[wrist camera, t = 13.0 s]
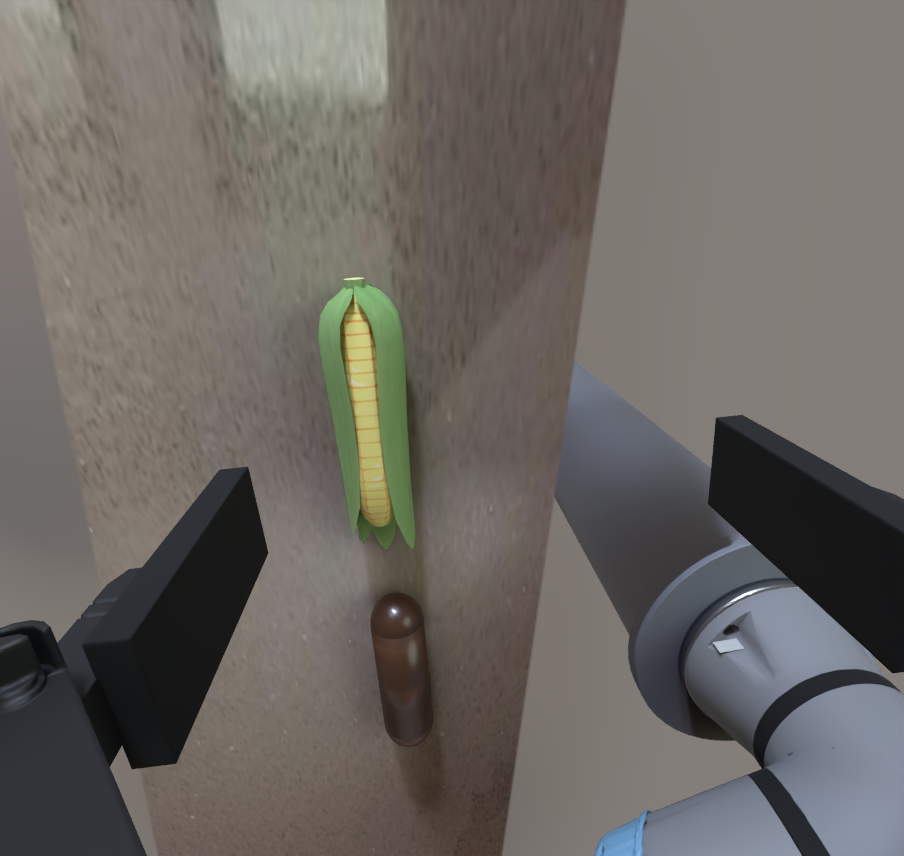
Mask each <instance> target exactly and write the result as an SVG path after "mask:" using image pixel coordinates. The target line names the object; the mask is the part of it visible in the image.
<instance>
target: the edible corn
mask: <svg viewBox="0 0 904 856" xmlns="http://www.w3.org/2000/svg"><path fill="white" fill-rule="evenodd" d="M343 282H344V287H343V289H342V290H341V291H340V293H338V294H337V295H336V296H335V297H333V298H332V299H331V300H330V301H328V303H327V305H326V306H325V308H324V310H323V312H322V313H321V315H320V322H319V333H318V341H319V348H320V355H321V361H322V368H323V374H324V379H325V384H326V389H327V394H328V399H329V404H330V409H331V414H332V419H333V425H334V430H335V436H336V442H337V448H338V453H339V459H340V465H341V471H342V477H343V483H344V489H345V496H346V502H347V508H348V514H349V521H350V527H351V533H352V536H353V534H354V532H355V530H356V525H358V531H359V537H360V540H361V541H362V542H363V543H365V542H366V540H367V539H368V537H369V536H370V534H371V533H372V530H373V532H374V535H375V537H376V539H377V542H378V543H379V544H380V545H381V546H382V547H383V548H384V549H385V550H386V551H387V550H388V548H389V547H390V545H391V543H392V542H393V540H394V535H395V529H396V522H397V524H398V526H399V528H400V530H401V532H402V535H403V537H404V539H405V541H406V543H407V545H408V546H409V547H410V548H411V549H412V550H413V549H414V542H415V524H414V511H413V499H412V487H411V474H410V458H409V441H408V424H407V398H406V365H405V347H404V333H403V329H402V325H401V321H400V317H399V313H398V311H397V309H396V308H395V306H394V305H393V303H392V302H391V300H390V299H389V298H388V297H387V296H386V295H385V294H383V293H382V292H381V291H380V290H379V289H377V288H374V287H373V286H372V285H369V284H366V283H365V278H348V279H343Z"/></svg>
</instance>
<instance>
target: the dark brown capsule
mask: <svg viewBox="0 0 904 856" xmlns="http://www.w3.org/2000/svg"><path fill="white" fill-rule="evenodd" d="M370 621H371V632H372V639H373V646H374V653H375V660H376V667H377V674H378V681H379V688H380V695H381V702H382V708H383V715H384V722H385V727H386V731H387V733H388V735H389V736H390V738H391V739H392V740H393V741H394V742H395V743H397V744H398V745H401V746H405V747H411V746H415V745H418V744H420V743H421V742H422V741H424V740H425V739H426V737H427V736H428V735H429V733H430V731H431V728H432V725H433V710H432V700H431V690H430V680H429V670H428V660H427V650H426V640H425V631H424V621H423V614H422V610H421V608H420V606H419V604H418V603H417V602H416V601H415V600H414V599H413V598H412V597H410V596H409V595H406V594H403V593H393V594H389V595H387V596H385V597H383V598H382V599H381V600H379V602H378V603H377V604H376V605H375V607H374V609H373V611H372V614H371V619H370Z"/></svg>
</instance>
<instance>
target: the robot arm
mask: <svg viewBox="0 0 904 856" xmlns="http://www.w3.org/2000/svg"><path fill="white" fill-rule="evenodd" d="M708 504H709V505H710V506H711V507H712V508H713V509H714V510H715V511H716V512H717V513H718V514H720V515H721V516H722V517H723V518H724V519H725V520H726V521H727V522H728V523H729V524H730V525H731V526H733V527H734V528H735V529H736V530H737V531H738V532H739V533H740V534H741V535H742V536H743V537H745V538H746V539H747V540H748V541H749V542H750V543H751V544H752V545H753V546H754V547H755V548H757V549H758V550H759V551H760V552H761V553H762V554H763V555H764V556H765V557H766V558H767V559H769V560H770V561H771V562H772V563H773V564H774V565H775V566H776V567H777V568H778V569H779V570H781V571H782V572H783V573H784V574H785V575H786V576H787V577H788V578H770V579H763V580H759V581H755V582H751V583H748V584H745V585H743V586H740V587H738V588H736V589H734V590H732V591H730V592H728V593H726V594H724V595H723V596H721V597H720V598H718V599H717V600H715V601H714V602H713V603H711V604H710V605H709V606H708V607H707V608H706V609H705V610H703V611H702V612H701V614H700V615H699V616H698V617H697V618H696V619H695V620H694V622H693V623H692V624H691V626H690V628H689V629H688V631H687V633H686V634H685V636H684V639H683V641H682V644H681V647H680V651H679V657H678V669H679V674H680V678H681V680H682V683H683V684H684V686H685V688H686V690H687V691H688V693H689V695H690V696H691V698H692V699H693V701H694V702H695V704H696V705H697V706H698V707H699V708H700V709H701V710H702V712H703V713H704V714H705V715H707V716H708V717H709V718H711V719H712V720H713V721H715V722H716V723H717V724H718V725H719V726H720V727H722V728H723V729H724V730H725V731H726V732H727V733H728V734H729V735H730V736H731V737H732V738H734V739H735V740H736V741H737V742H738V743H739V744H741V745H742V746H743V747H744V748H745V749H746V750H747V751H748V752H750V753H751V754H752V755H753V756H754V757H755V759H756V760H757V762H758V763H759V765H760V766H761V768H762V769H761V770H758V771H756V772H753V773H751V774H748V775H745V776H742V777H740V778H737V779H735V780H732V781H730V782H727V783H725V784H722V785H720V786H717V787H714V788H712V789H710V790H707V791H704V792H702V793H699V794H697V795H694V796H692V797H689V798H687V799H684V800H682V801H679V802H677V803H674V804H672V805H669V806H667V807H664V808H662V809H659V810H656V811H654V812H651V811H650V810H648V811H645V812H643V813H641V815H640V817H639V818H637V819H635V820H633V821H630V822H628V823H626V824H624V825H622V826H620V827H618V828H616V829H614V830H612V831H610V832H608V833H606V834H605V835H604V836H603V837H602V839H601V840H600V842H599V843H598V845H597V848H596V851H595V856H904V694H903V693H902V692H901V691H900V690H898V689H897V688H896V687H895V686H894V685H893V684H892V683H891V682H890V681H889V680H888V679H887V678H886V677H885V676H884V675H883V673H882V671H881V670H880V668H879V666H878V664H877V663H876V661H875V659H874V657H875V658H876V659H878V660H879V661H880V662H881V663H882V664H883V665H884V666H885V667H886V668H887V669H888V670H890V671H891V672H892V673H899V672H904V499H902V498H900V497H898V496H897V495H895V494H892V493H889V492H886V491H883V490H880V489H877V488H874V487H871V486H869V485H867V484H866V483H864V482H862V481H860V480H858V479H856V478H855V477H853V476H851V475H849V474H848V473H846V472H844V471H842V470H840V469H839V468H837V467H835V466H833V465H831V464H829V463H828V462H826V461H824V460H822V459H820V458H819V457H817V456H815V455H813V454H812V453H810V452H808V451H806V450H804V449H802V448H801V447H799V446H797V445H795V444H794V443H792V442H790V441H788V440H786V439H785V438H783V437H781V436H779V435H777V434H776V433H774V432H772V431H770V430H768V429H767V428H765V427H763V426H761V425H759V424H757V423H756V422H754V421H752V420H750V419H749V418H747V417H745V416H743V415H738V416H728V417H719V418H716V424H715V435H714V445H713V456H712V467H711V478H710V488H709V499H708ZM267 555H268V550H267V545H266V541H265V537H264V533H263V528H262V524H261V520H260V516H259V511H258V507H257V503H256V498H255V494H254V490H253V486H252V481H251V477H250V473H249V469H248V467H241V468H232V469H222V470H219V471H218V473H217V474H216V475H215V476H214V478H213V479H212V480H211V481H210V483H209V484H208V485H207V486H206V488H205V489H204V490H203V491H202V493H201V494H200V495H199V497H198V498H197V499H196V500H195V502H194V503H193V504H192V505H191V507H190V508H189V509H188V510H187V512H186V513H185V514H184V515H183V517H182V518H181V519H180V521H179V522H178V523H177V524H176V526H175V527H174V528H173V529H172V531H171V532H170V533H169V534H168V536H167V537H166V538H165V539H164V541H163V542H162V543H161V545H160V546H159V547H158V548H157V550H156V551H155V552H154V553H153V555H152V556H151V557H150V558H149V560H148V561H147V562H146V563H145V565H144V566H143V567H142V568H135V569H129V570H127V571H126V572H124V573H123V574H122V575H120V576H119V577H117V578H116V579H115V580H113V581H112V582H110V583H109V584H108V585H107V586H106V587H105V588H104V589H103V590H102V591H101V593H100V594H99V595H98V596H97V597H96V599H95V600H94V601H93V605H90V606H89V607H88V608H87V609H86V610H85V612H84V613H83V614H82V615H81V619H78V620H77V621H76V622H75V623H74V624H73V625H72V627H71V628H70V629H69V630H68V631H67V633H66V634H65V635H64V636H63V637H62V638H61V640H60V641H59V642H58V643H57V642H56V639H55V637H54V635H53V632H52V630H51V628H50V626H48V625H47V624H46V623H45V622H44V621H33V620H30V621H24V622H19V623H13V624H11V625H8V626H5V627H2V628H0V856H147V855H146V853H145V850H144V848H143V845H142V843H141V841H140V838H139V836H138V834H137V831H136V829H135V826H134V824H133V822H132V819H131V817H130V815H129V812H128V810H127V807H126V805H125V803H124V800H123V798H122V795H121V793H120V791H119V788H118V786H117V783H116V781H115V779H114V776H113V774H112V772H111V769H110V766H111V764H112V762H113V760H114V758H115V757H116V755H117V753H118V751H119V749H120V748H121V746H123V748H124V751H125V753H126V756H127V758H128V761H129V763H130V766H131V768H132V769H136V768H145V767H153V766H161V765H169V764H176V763H177V760H178V758H179V756H180V754H181V751H182V749H183V747H184V744H185V742H186V740H187V738H188V735H189V733H190V731H191V728H192V726H193V724H194V722H195V719H196V717H197V715H198V712H199V710H200V708H201V706H202V703H203V701H204V699H205V696H206V694H207V692H208V690H209V687H210V685H211V683H212V680H213V678H214V676H215V674H216V671H217V669H218V667H219V664H220V662H221V660H222V658H223V655H224V653H225V651H226V648H227V646H228V644H229V642H230V639H231V637H232V635H233V632H234V630H235V628H236V626H237V623H238V621H239V619H240V616H241V614H242V612H243V610H244V607H245V605H246V603H247V600H248V598H249V596H250V594H251V591H252V589H253V587H254V584H255V582H256V580H257V578H258V575H259V573H260V571H261V568H262V566H263V564H264V562H265V559H266V557H267ZM872 655H873V656H874V657H873V656H872Z"/></svg>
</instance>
